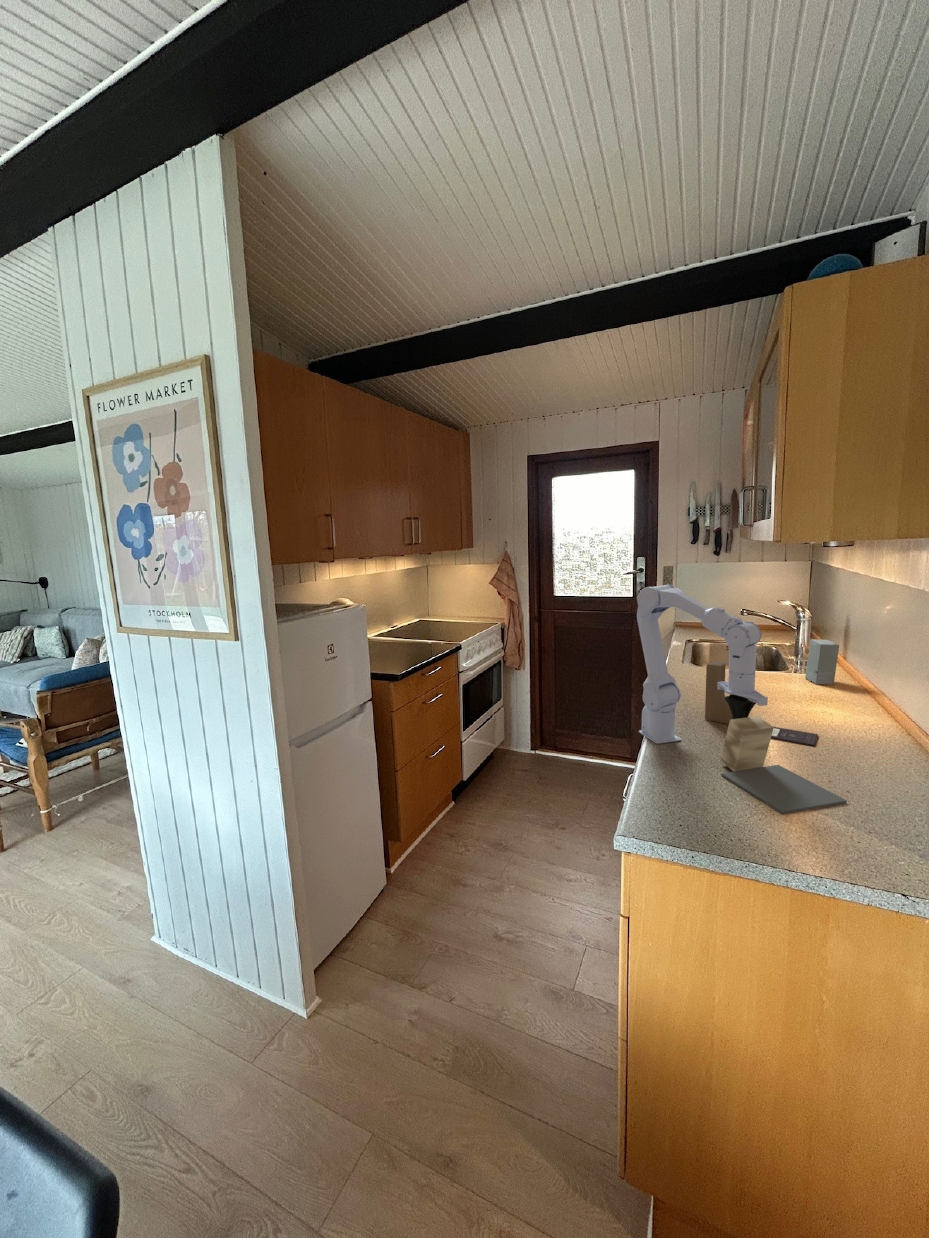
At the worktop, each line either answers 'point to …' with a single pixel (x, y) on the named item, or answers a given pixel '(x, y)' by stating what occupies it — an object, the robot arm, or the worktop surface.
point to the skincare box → (822, 661)
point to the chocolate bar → (794, 736)
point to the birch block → (746, 743)
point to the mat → (783, 789)
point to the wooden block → (716, 694)
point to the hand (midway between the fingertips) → (739, 724)
